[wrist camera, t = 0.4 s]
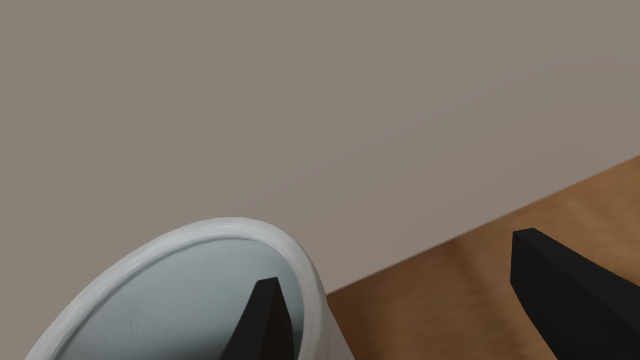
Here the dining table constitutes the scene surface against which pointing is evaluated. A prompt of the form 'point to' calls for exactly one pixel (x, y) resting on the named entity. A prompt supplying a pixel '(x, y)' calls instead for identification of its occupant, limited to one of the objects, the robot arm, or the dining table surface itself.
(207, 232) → the utensil holder
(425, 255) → the dining table surface
